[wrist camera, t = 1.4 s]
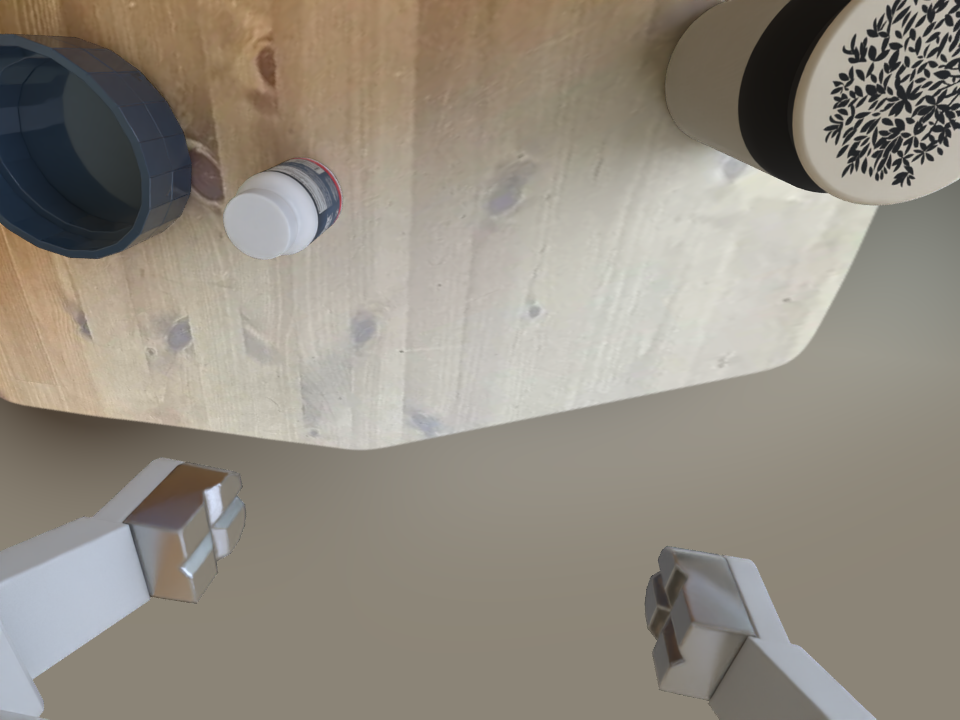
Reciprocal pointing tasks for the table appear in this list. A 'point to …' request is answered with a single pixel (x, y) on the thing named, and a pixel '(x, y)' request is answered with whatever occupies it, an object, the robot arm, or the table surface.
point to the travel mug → (827, 92)
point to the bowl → (85, 148)
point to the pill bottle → (283, 208)
